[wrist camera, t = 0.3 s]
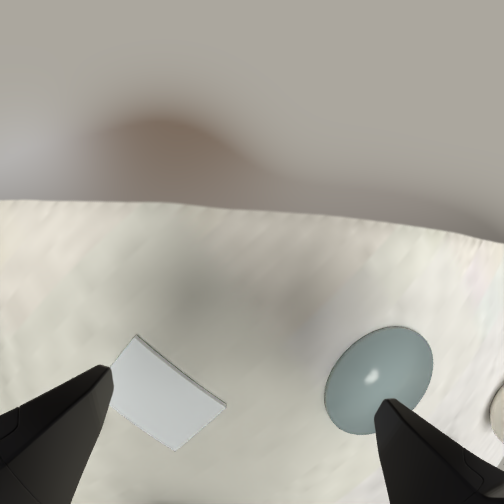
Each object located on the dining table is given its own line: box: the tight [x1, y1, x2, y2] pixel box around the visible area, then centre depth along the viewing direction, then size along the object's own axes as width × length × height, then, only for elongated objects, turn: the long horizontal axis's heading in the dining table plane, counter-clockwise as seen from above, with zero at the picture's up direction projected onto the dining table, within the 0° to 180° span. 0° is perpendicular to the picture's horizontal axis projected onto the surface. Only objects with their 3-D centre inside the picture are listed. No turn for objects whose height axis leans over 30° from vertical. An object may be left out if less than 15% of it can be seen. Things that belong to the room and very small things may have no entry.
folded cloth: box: [109, 335, 226, 451], centre depth 23 cm, size 8×10×1 cm
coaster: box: [325, 327, 433, 435], centre depth 24 cm, size 12×12×1 cm
